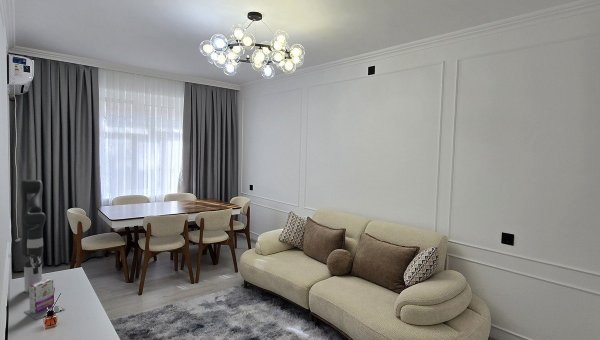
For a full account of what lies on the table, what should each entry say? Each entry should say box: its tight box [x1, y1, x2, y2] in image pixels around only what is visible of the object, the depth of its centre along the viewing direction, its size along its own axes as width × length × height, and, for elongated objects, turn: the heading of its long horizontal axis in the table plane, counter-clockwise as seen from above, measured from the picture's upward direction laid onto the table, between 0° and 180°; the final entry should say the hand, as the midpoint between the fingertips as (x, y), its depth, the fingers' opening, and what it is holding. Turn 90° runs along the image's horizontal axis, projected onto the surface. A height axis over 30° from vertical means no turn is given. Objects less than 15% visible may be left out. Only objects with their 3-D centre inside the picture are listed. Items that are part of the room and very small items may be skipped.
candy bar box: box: [28, 278, 55, 313], centre depth 195 cm, size 11×5×16 cm, turn 166°
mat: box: [24, 305, 65, 321], centre depth 194 cm, size 16×14×1 cm
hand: (35, 273), depth 199 cm, fingers closed
